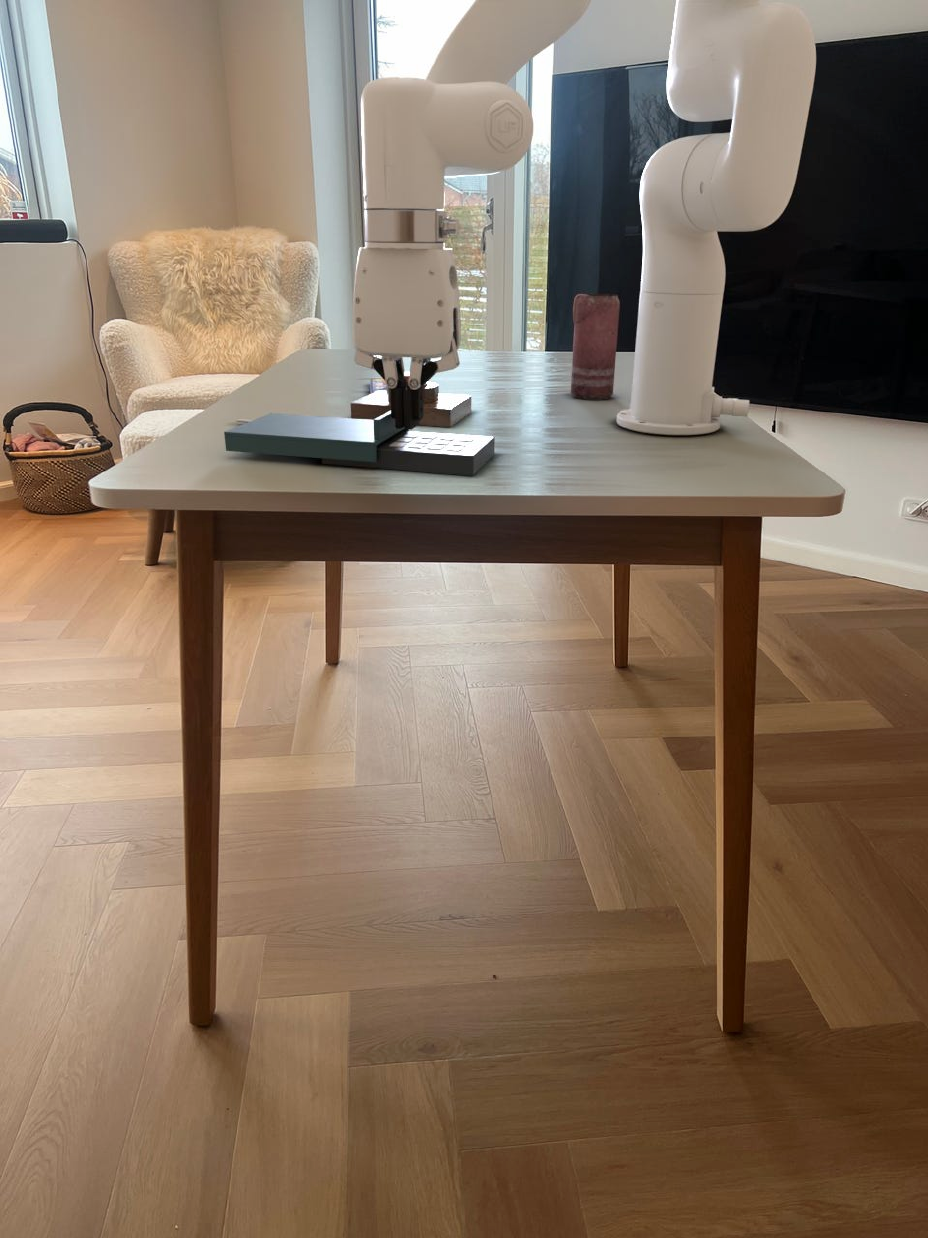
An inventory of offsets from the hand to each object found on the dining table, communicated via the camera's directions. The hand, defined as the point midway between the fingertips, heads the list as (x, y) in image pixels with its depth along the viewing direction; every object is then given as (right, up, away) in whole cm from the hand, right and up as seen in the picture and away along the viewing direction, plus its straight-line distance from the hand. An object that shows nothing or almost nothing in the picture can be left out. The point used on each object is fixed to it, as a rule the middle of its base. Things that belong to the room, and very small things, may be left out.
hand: (407, 426), depth 90 cm
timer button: (-1, +10, +21) cm, 23 cm away
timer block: (-1, +6, +23) cm, 23 cm away
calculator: (0, -3, +2) cm, 4 cm away
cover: (-10, -2, +4) cm, 11 cm away
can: (+24, +12, +37) cm, 46 cm away
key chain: (-15, +3, +16) cm, 22 cm away
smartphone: (-4, +13, +39) cm, 41 cm away
